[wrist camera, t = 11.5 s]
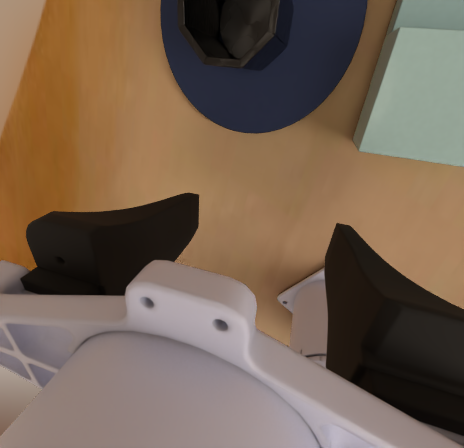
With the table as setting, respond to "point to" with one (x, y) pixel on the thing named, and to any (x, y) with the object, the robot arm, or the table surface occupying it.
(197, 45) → the pen cup
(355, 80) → the table surface
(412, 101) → the shelf riser
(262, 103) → the navy mat
